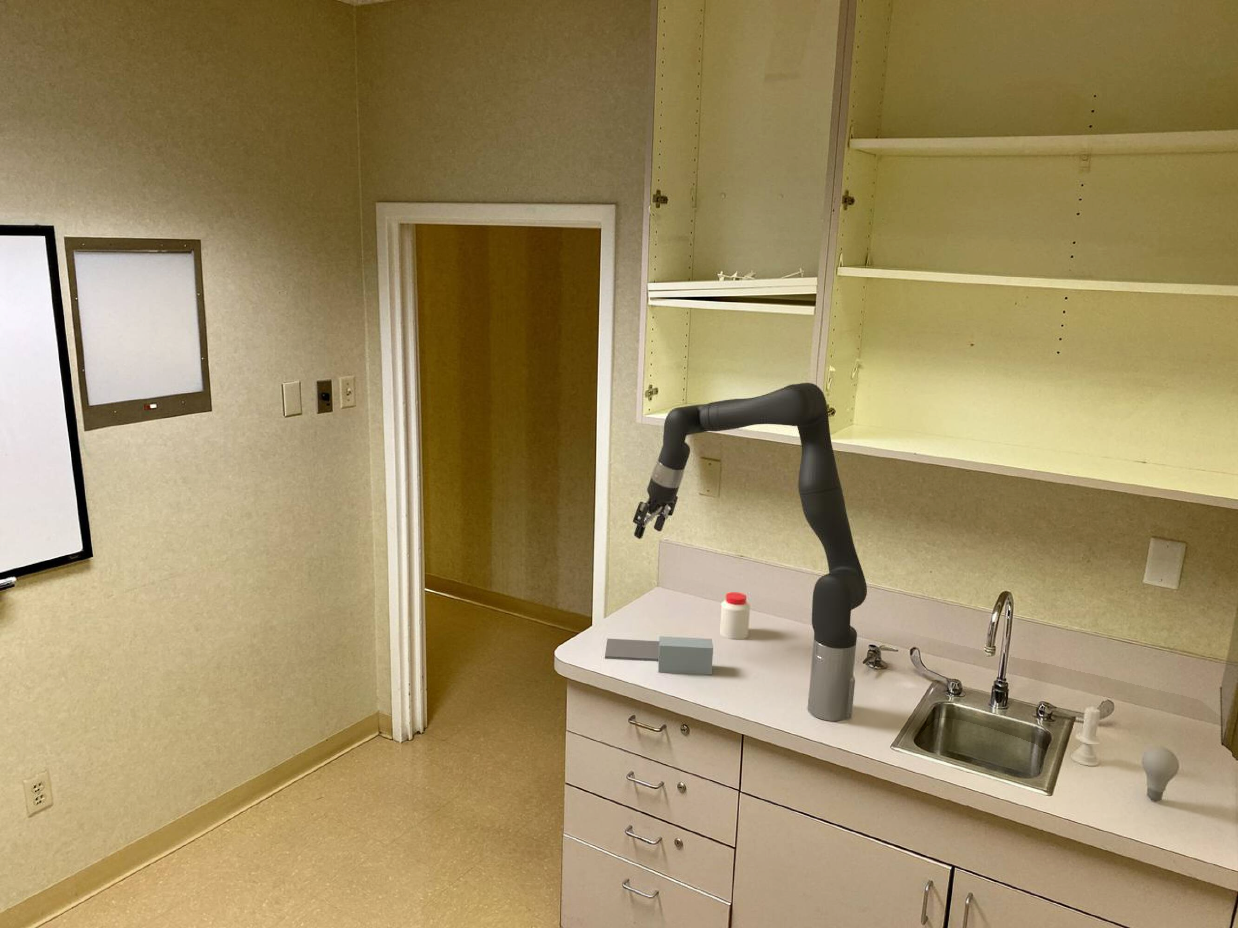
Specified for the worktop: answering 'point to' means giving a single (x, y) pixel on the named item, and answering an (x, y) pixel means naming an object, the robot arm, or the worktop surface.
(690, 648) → the cover
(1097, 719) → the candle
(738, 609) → the pill bottle
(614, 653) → the mat
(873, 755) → the worktop surface
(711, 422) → the robot arm
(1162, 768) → the lightbulb
